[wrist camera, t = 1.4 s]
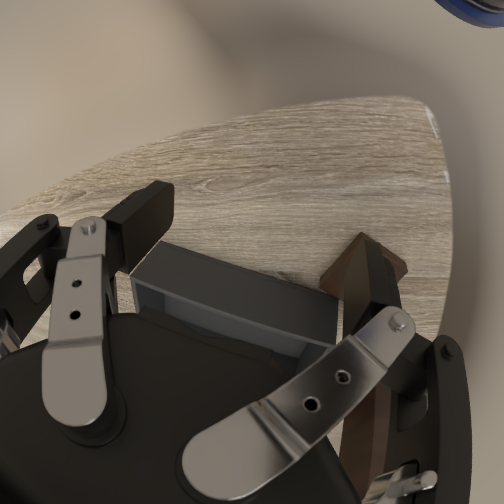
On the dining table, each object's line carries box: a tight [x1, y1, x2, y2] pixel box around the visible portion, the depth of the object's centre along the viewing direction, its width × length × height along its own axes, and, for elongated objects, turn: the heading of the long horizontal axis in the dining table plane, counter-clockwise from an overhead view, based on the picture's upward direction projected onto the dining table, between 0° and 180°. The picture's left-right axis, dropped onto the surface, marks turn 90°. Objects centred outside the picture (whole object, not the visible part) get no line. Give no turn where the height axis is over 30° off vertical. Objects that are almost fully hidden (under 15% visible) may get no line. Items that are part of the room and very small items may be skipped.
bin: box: [130, 241, 339, 377], centre depth 32 cm, size 13×21×7 cm, turn 79°
